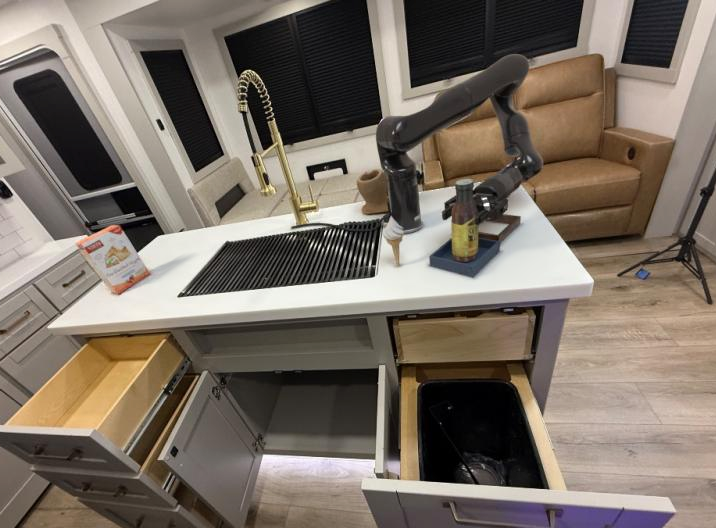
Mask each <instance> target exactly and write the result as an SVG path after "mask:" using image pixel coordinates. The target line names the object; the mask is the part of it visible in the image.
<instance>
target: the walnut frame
mask: <svg viewBox="0 0 716 528" xmlns="http://www.w3.org/2000/svg"><path fill="white" fill-rule="evenodd" d="M479 213H480V212H479ZM521 218H522V216H521V215H516V214H515V215H514V214H506V213H504V214H503V215H502V216H501V217H500V218H499V219H494V217H490V219H487V220H486V221H485V222H492V223H499V224H506V225H507V226H505V228H503V229H502V230H501V231H500V232H499V233H498V234H495V233H489V232H482V231H478V237H479V238H484V239H490V240H496V241H500V244H501V243H502V242H503V241H505V240H506V239H507V238H508V237H509V236H510V235H511V234H512V233H513V232H514V231H515V230H516V229H517V228H518V227H519V226H520V225H521V221H522V219H521Z"/></svg>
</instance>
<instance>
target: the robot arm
mask: <svg viewBox="0 0 716 528" xmlns="http://www.w3.org/2000/svg"><path fill="white" fill-rule="evenodd" d="M529 71H530V61H529V59H528V58H527V57H526V56H524V55H522V54H518V53H512V54H511V53H510V54H507V55H505V56H503V57H501V58H500V59H498V60H497V61H496V62H494V63H493V64H491V65H490V66H489V67H487V68H486V69H484V70H482V71H480V72H478V73H477V74H475V75H472V76H470V77H469V78H467V79H465V80H464V81H462V82H460V83H457V84H454V85H453V86H451V87H449V88H447V89H445V90H444V91H442V92H440V94H438V95H437V96H436V97H435V98H434V100H433V101H432V103H431V104H429V106H427V107H426V108H424V109H422V110H419V111H417V112H414V113H411V114H408V115H388V116H385V117H383V118H382V119H381V120H380V121H379V123H378V124H377V127H376V130H375V144H376V148H377V153H378V158H379V165H380V168H381V170H382V171H383V172H384V174H385V178H386V184H387V196H388V197H389V201H388V202H387V207H388V211H387V212H386V213H384V214H383V215H382V217H381V218H380V219H379V221H378V224H377V225H376V226H375V227H372V228H366V229H364V228H361V229H360V228H350V227H349V228H348V227H345V226H341V225H338V224H334V223H327V222H310V223H309V222H308V223H302V224H297V225H292V226H290V228H291V229H296V228H302V227H307V226H328V227H333V228H337V229H340V230H341V229H342V230H344V231H347V232H359V233H361V232H365V233H366V232H370V231H376V230H377V229H379V228H380V227H381V226H382V222H383V224H384V223H385V224H388V222H389V220H390V217H391V216H392V218H393V219H394V220H395V221H396V222H397V223H398V224H399V226H401V227H402V228H404V229H403V231H404V235H406V234H411V233H414V232H417V231H419V230H420V229H421V228H422V227H423V221H422V214H421V211H422V210H421V201H420V193H419V191H420V190H419V184H418V183H419V182H418V173H417V165H416V162H415V161H414V160H413V159H412V158H411V157H410V156H409V155H408V152H410V151H412V150H413V149H415V148H416V147H418V146H419V145H420V144H422V143H423V142H424V141H426V140H427V139H428V138H430V137H433V135H435V134H437V133H438V132H441V131H443V130H445V129H447V128H449V127H450V126H453V125H455V124H457V123H459V122H461V121H463V120H464V119H465V118H467V117H470V116H471V115H472V114H473V113H474V112H475V111H477V110H479V108H480V107H481V106H482V105H483V104H484V103H485V102H487V100H488V99H489V101H490V103H491V105H492V108H493V111H494V113H495V116H496V118H497V121H498V125H499V127H500V132H501V139H502V145H503V150H504V153H505V155H506V156H508V157H511V158H513V157H516V158H514V159H513V160H511V161H510V162H508V163H507V164H506V165H504V166H503V167H502V168H501V169H500V170H499V171H497V172H496V173H494V174H493V175H491V176H489V177H487V178H486V179H485V180H483V181H482V182H480V183H479V184H478V185H476V187H475V186H474V187H473V200H474V202H475V205H476V208H477V210H478V213H479V212H480V213H479V214H478V215H476V217H475V225H478V226H479V225H481V224H483V223H484V222H487V221H486V220H487V219H490V217H494V219H499V218H500V217H501V216H502V215H503V214H506V212H507V211H508V209H509V198H510V197H511V195H512V194H513V193H515V192H516V191H517V190H518V189H519V188H520V186H521V185H523V184H524V183H526V182H527V181H529V180H530V179H532V178H534V177H536V176H537V175H538V174H539V173H541V171H542V170H543V168H544V159H543V157H542V155H541V154H540V153H539V151H538V150H537V147H536V146H535V144H534V142H533V141H532V137H531V132H530V131H531V130H530V126H529V122H528V120H527V117H526V116H524V115H523V114H522V113H521V112H519V111H518V110H517V109H515V106H514V96H515V94H516V93H517V91H518V90H519V88H521V86H522V84H523V83H524V81H526V78H527V76H528V74H529ZM455 203H456V194H455V195H454V196H452V197H451V198H449V199H448V200H446V201H445V202H443V205H444V210H443V211H441V218H442V220H443V221H447V220H449V219H450V218H452V214H451V212H452V208H453V206H454V205H455Z"/></svg>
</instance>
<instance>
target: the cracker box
mask: <svg viewBox="0 0 716 528" xmlns="http://www.w3.org/2000/svg"><path fill="white" fill-rule="evenodd" d="M75 246H76V247H77V248H78V250H79V251H80V252H81V254H83V256H84V257H85V259H86V261H87V262H88V263H89V265H90V266H91V267H92V268H93V270H94V271H95V272H96V274H97V275H98V277H100V280H101V281H102V282H103V283H104V284H105V286H106V287H107V289H108V290H109V291H110V292H111V293H112V294H116V295H120V294H122V292H124V291H126V290H128V289H129V288H130V287H132V286H134V285H135V284H137V283H139V282H140V281H142V280H143V279H145V278H146V277H148V276H150V275H151V272H150V270H149V269H148V268H147V266H146V265H145V263H144V261H143V260H142V258H141V256H140V255H139V254H138V251H137V250H136V249H135V247H134V246H133V244H132V242H131V241H130V239H129V238H128V236H127V235H126V233H125V231H124V230H123V228H122V226H121V225H117V224H116V225H114V224H111V225H109V226H107V227H105V228H103V229H101V230H100V231H96V232H95V233H93V234H91V235H88V236H87V237H85V238H83V239H81V240H79V241H77V242H75Z"/></svg>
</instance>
